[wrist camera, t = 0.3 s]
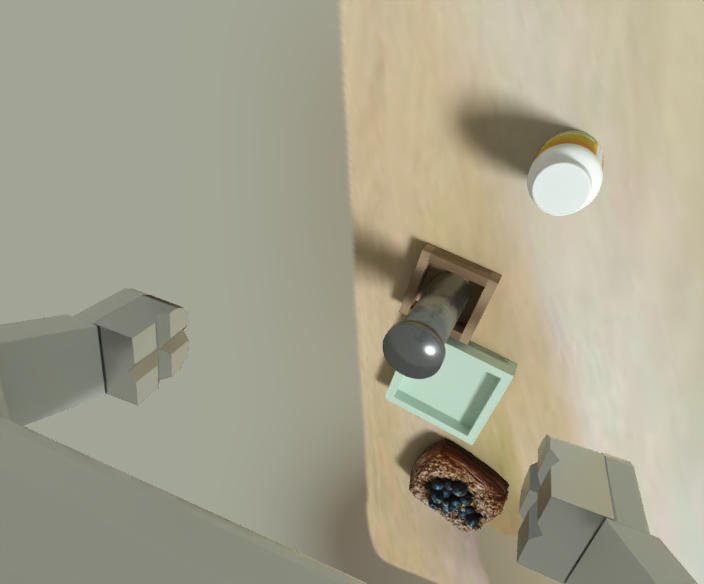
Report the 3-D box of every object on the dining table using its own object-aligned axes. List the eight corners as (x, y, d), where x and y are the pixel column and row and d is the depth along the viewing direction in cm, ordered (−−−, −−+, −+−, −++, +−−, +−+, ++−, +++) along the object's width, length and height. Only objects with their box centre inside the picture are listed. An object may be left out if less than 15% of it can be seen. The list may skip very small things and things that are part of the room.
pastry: (475, 520, 68) (465, 556, 63) (404, 469, 69) (389, 500, 65) (521, 483, 61) (513, 520, 56) (441, 427, 63) (427, 459, 58)
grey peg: (435, 259, 52) (392, 314, 42) (483, 280, 51) (451, 343, 41) (419, 299, 55) (375, 360, 45) (464, 320, 54) (430, 389, 44)
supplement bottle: (526, 149, 44) (508, 175, 36) (587, 117, 40) (581, 137, 33) (553, 201, 45) (541, 237, 37) (614, 173, 41) (615, 205, 34)
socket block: (428, 243, 52) (422, 249, 50) (501, 275, 50) (498, 283, 48) (405, 303, 56) (399, 311, 55) (471, 335, 54) (467, 344, 53)
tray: (419, 317, 56) (413, 327, 55) (517, 364, 54) (513, 376, 52) (391, 387, 63) (384, 398, 61) (476, 432, 60) (472, 445, 58)
